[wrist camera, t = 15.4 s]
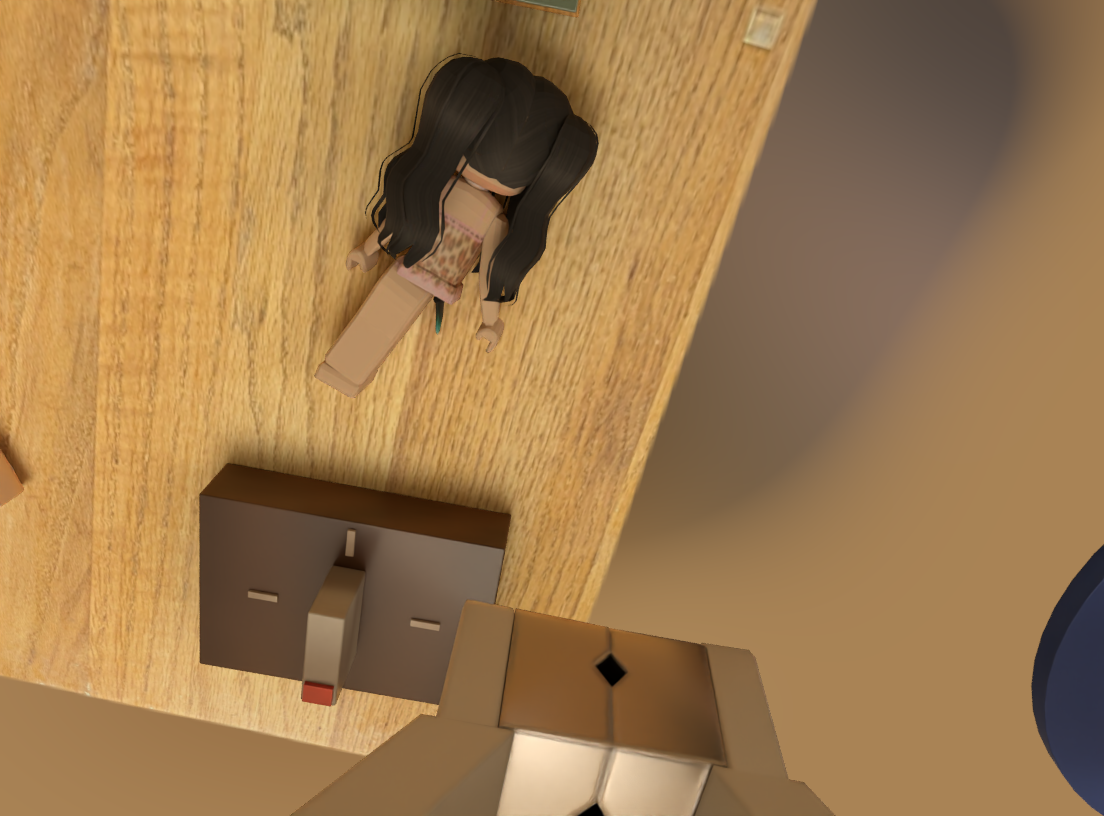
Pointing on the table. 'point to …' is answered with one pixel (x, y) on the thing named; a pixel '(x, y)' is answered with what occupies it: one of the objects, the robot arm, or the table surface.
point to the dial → (332, 635)
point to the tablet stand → (8, 481)
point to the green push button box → (549, 5)
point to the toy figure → (463, 206)
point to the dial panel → (351, 542)
